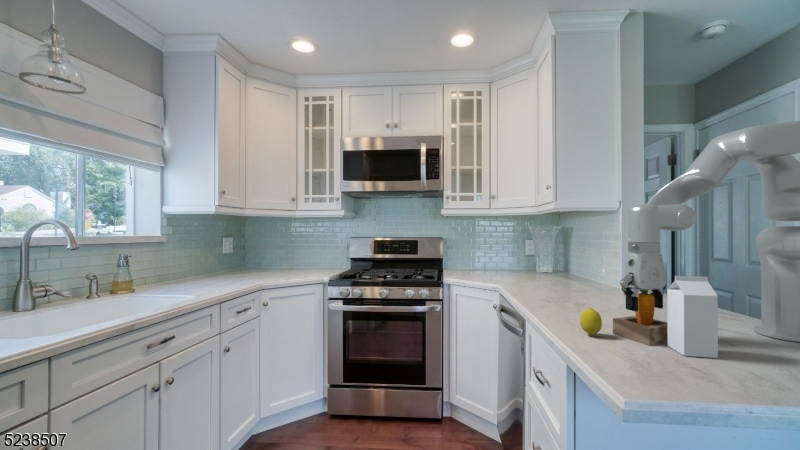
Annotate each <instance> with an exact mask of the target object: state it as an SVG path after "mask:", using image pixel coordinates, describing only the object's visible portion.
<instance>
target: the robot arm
mask: <svg viewBox="0 0 800 450" xmlns="http://www.w3.org/2000/svg"><path fill="white" fill-rule="evenodd" d="M797 154H800V120H793V121H792V120H791V121H785V122H783V121H782V122H778V123H777V122H776V123H769V124H760V125H754V126H748V127H745V128H741V129H737V130H734V131H730V132H726V133H723V134H720V135H718V136H716V137H714V138H713V139H712V140H710V141H709V143H707V145H706V146H705V147H704V149H703V150H702V151H701V152H700V153H699V155H698V156H697V157H696V158H695V160H694V161H693V162H692V163H691V164H690V165H689V167H688V168H687V170H685V171H684V173H681V175H679V176H677V177H676V178H674V179H673V180H672V181H670V182H668V183H667V184H666V185H665V186H663V187H662V188H660V189H659V190H658V191H657V192H655V193H654V194H653V195H652V196H651V197H650V199H649V200H648V201H647V202H646V203H645V204H643V205H642V204H639V205H632V206H629V208H628V210H627V255H626V256H627V257H626V263H625V275H624V277H623V278H621V280H620V281H619V285H620V287H621V291H622V293H623V295H624V296H625V309H626V310H627V311H632V312H635V311H638V297H636V295H637V293H640V289H641V290H648V291H650V292H649V294H651V295H653V296H654V299H655V303H654V309H655V308H657V309H660V310H661V309H662V310H663V308H664V294H665V290H666V288H667V283H668V277H666V272H665V264H664V258H663V254H662V253H661V231H666V232H667V231H669V232H681V231H685V230H687V229H690V228H691V227H693V226H694V225H695V223H696V221H697V214H696V211H695V210H694V209H693V208H692V207H691V206H689V205H686V204H684V203H686V202H687V201H689V200H692V199H694V198H697V197H700V196H702V195H704V194H707V193H709V192H711V191H713V190H715V189H717V188H718V187H719V186H720V185H721V183H722V182H723V181H724V179H726V178H727V176H728V175H729V174H730V172H731V171H732V170H733V168H735V167H736V165H737V164H738V163H740V162H742V161H747V162H749V163H751V165H752V166H754V167H755V168H756V169H757V171H758V172H759V175H760V181H761V197H762V198H761V200H762V205H761V206H762V212H763V214H764V217H765V218H767V219H769V220H771V221H775V222H800V160H799V159H798V158H797V157H795V156H793V155H797ZM755 246H756V249H757V252H758V253H757V254H758V257H759V260H760V261H759V262H760V271H761V272H760V274H761V275H760V279H761V280H760V281H761V282H760V284H761V287H760V291H761V293H760V294H761V296H760V305H761V306H760V308H761V311H760V312H761V313H760V314H761V316H760V318H761V319H760V320H761V322H760V325H756V326H754V327H753V331H754V332H755V333H757V334H759V335H762V336H764V337H765V336H766V337H769V338H772V339H777V340H783V341H790V342H797V343H800V225H778V226H772V227H767V228H765V229H763V230H761V231H760V232H759V233H758V234H757V236H756V239H755Z"/></svg>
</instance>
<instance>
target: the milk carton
mask: <svg viewBox="0 0 800 450" xmlns="http://www.w3.org/2000/svg"><path fill="white" fill-rule="evenodd" d="M666 293H667V295H666V296H667V298H666V299H667V307H666V310H667V312H666V313H667V314H666V315H667V321H666V322H667V329H668V343H667V347H669V348H670V349H672V350H674V351H675V352H677V353H679V354H681V355H682V356H685V357H696V358H698V357H699V358H708V359H709V358H711V359H713V358H715V359H718V357H719V345H718V344H719V341H718V340H719V338H718V337H719V329H718V327H719V326H718V325H719V324H718V323H719V321H718V319H719V316H718V313H719V312H718V305H719V302H718V301H719V300H718V299H719V298H718V297H719V296H718V294H717V292H716V291H715V290H714V288H713V286H712V285H711V284H710V282H709V277H708V276H690V275H689V276H688V275H683V276H682V275H674V281H673V282H672V283H671V284H670V285H669V287H668V288H667V292H666Z"/></svg>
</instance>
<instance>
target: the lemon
mask: <svg viewBox="0 0 800 450" xmlns="http://www.w3.org/2000/svg"><path fill="white" fill-rule="evenodd" d="M579 324H580V325H579V326H580V327H581V329H582V331H584V333H587V334H588V335H589V336H590V337H592V336H593V335H595V334H598V333H599V332H600V331H601V329H602V325H603V322H602V317H601V315H600V313H599V312H598V311H596V310H595V309H594V308H592V307H589V308H587V309H584V310H583V311H581V314H580V316H579Z"/></svg>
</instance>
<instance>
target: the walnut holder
mask: <svg viewBox="0 0 800 450" xmlns="http://www.w3.org/2000/svg"><path fill="white" fill-rule="evenodd" d="M612 334H613V335H616V336H619V337H621V338H624V339H628V340H631V341H634V342H637V343H640V344H643V345H647V346H649V347H650V346H656V345H663V344H668V329H667V321H662V320H659V319H655V318H653V321H652V324H651V326H645V325H642V324H638V322H637V318H636V315H632V316H631V315H630V316H623V317H613V318H612Z"/></svg>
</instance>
